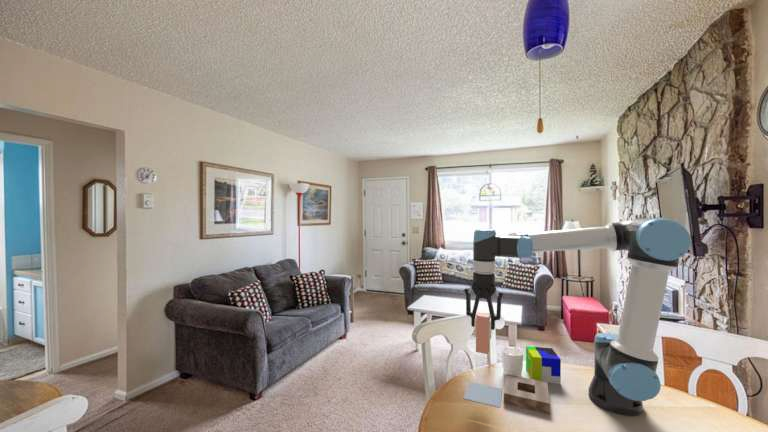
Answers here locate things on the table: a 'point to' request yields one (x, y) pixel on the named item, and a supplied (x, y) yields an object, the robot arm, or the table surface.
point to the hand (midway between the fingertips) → (482, 336)
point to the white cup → (512, 361)
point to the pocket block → (527, 394)
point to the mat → (483, 394)
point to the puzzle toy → (543, 364)
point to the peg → (482, 333)
